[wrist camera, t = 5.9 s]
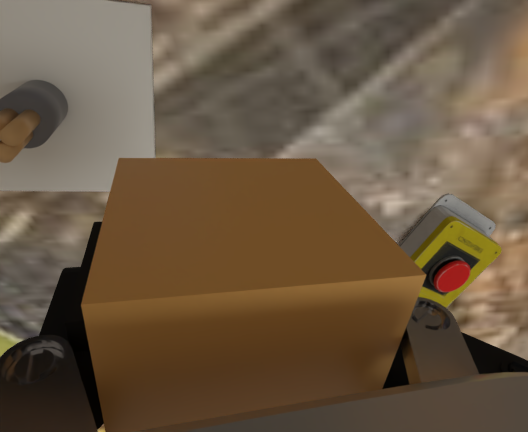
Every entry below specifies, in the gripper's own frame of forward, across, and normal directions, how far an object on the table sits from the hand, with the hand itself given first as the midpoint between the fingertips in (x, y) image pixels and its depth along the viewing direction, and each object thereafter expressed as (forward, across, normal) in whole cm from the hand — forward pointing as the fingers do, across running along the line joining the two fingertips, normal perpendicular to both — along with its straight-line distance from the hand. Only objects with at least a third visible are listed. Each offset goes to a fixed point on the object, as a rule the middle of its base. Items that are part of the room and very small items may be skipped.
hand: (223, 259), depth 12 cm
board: (+18, +9, -1) cm, 20 cm away
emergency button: (+19, -25, +16) cm, 35 cm away
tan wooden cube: (+1, 0, 0) cm, 1 cm away
